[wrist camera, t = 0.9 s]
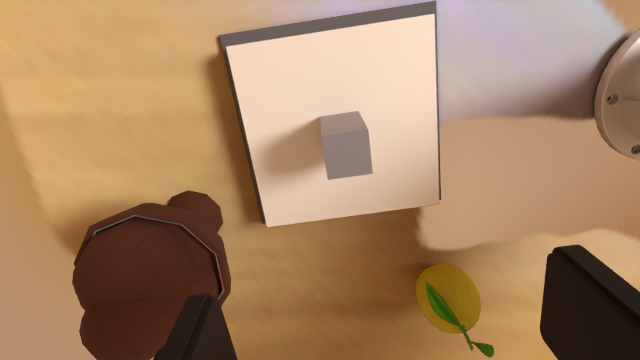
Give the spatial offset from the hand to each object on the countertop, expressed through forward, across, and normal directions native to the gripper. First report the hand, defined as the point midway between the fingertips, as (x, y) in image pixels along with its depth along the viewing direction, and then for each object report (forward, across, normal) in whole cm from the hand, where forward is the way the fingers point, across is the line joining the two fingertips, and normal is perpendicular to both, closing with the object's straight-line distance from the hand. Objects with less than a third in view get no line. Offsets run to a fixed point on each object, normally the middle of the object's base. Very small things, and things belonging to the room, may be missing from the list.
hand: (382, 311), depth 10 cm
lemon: (+23, -8, +17) cm, 30 cm away
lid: (+23, 0, 0) cm, 23 cm away
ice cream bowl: (+23, +15, +7) cm, 29 cm away
